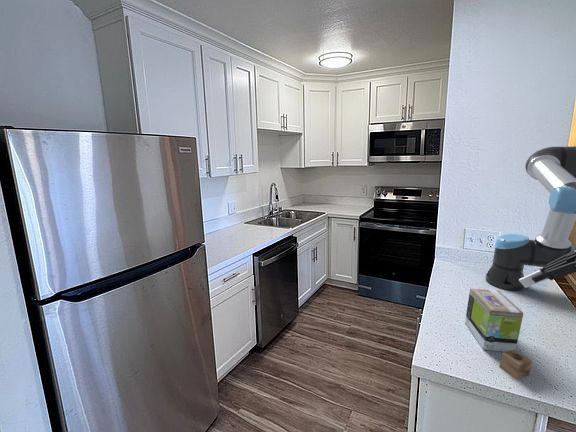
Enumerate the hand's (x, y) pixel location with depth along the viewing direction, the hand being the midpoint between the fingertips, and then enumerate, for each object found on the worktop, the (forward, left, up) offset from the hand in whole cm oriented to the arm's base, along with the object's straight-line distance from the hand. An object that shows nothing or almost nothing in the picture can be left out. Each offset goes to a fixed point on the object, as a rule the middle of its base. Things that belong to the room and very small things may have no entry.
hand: (522, 283), depth 92 cm
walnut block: (+9, +8, -23) cm, 26 cm away
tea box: (+2, -6, -23) cm, 24 cm away
